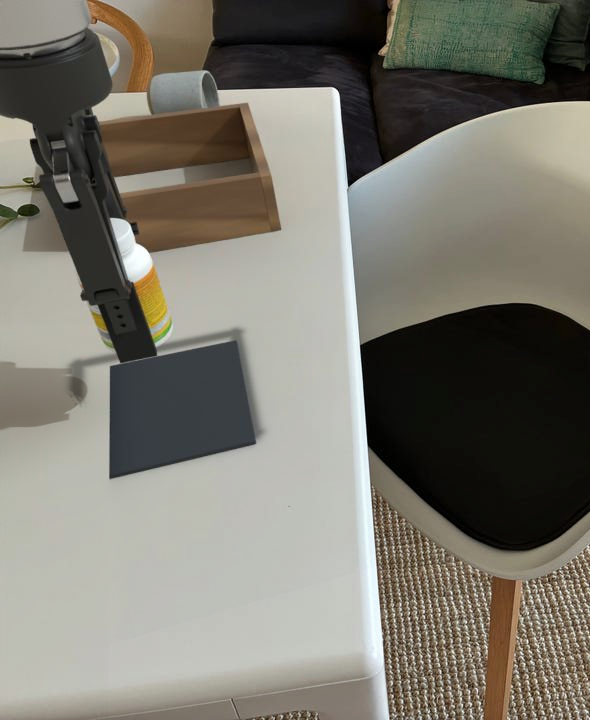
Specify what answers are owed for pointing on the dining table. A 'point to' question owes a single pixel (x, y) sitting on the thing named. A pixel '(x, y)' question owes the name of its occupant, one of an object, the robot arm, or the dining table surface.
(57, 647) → the dining table surface
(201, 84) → the ceramic mug
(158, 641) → the dining table surface
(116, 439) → the slate mat
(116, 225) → the supplement bottle
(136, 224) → the robot arm
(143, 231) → the wooden box
